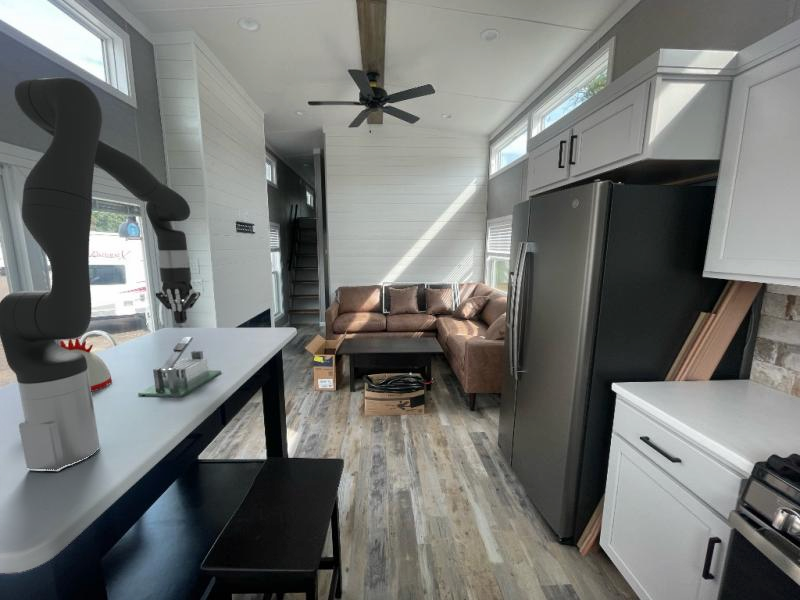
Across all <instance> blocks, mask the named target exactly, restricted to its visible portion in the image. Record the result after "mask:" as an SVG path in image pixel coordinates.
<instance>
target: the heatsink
mask: <svg viewBox="0 0 800 600" xmlns="http://www.w3.org/2000/svg"><path fill="white" fill-rule="evenodd" d="M203 352H204V351H203V350H193V351H191V352H190V354H191V358H190V357H188V358H186V357H185V358H182V359H178V361H177V362H176V363H175V365H174V366H173V368H170V369H168V370H167V371H168V373H159V370H160V369H161V368H162V367H156V368H153V370H152V372H153V381H154V384H153V385H152V386H150V387H148V388H146V389H143V390H142V391H140V392H137V393H138V395H137V396H138V397H143V396H142V395H145V396H144V397H165V396H176V397H175V398H183V397H186V395H188V394H190V393H191V392H193V391H195V390H196V389H197V388H200V387H201V386H202V385H204V384H206V383H207V382H209V381H211V380H212V379H214V378H216V377H217V376H218V375H220V374H222V370H214V369H213V370H210V369H209V365H208V358H204V353H203Z"/></svg>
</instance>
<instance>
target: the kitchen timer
mask: <svg viewBox="0 0 800 600" xmlns="http://www.w3.org/2000/svg"><path fill="white" fill-rule="evenodd" d="M59 341H60V342H59V343H60V346H61V347H63V348H65V349H68V350H70V351H74V352H78V353H81V354H83V355H84V356H85V358H86V361H87V367H88V373H89V379H90V386H91V391H92V392H94V391H93V390H95V391H97V390H96V389H98V390H100V389H99V388H101V387H103V388H105V387H107V386H108V385H107V384H109V383H110V382H111V381H112V375H111V372H110V370H109V368H108V366H107V365H106V363H105V362H104V360H103V359H102V358H101V357H100V356H99V355H97V354H96V353H94V352H92V351H91V350H92V348H93V346H94V345H93V343H92V344H91V345H89V346H88V348H86V343H87V342H86V341H83V342H82V344H81V343H80V340H79V337H77V338H75V340H74V343H73V340H72V339H68V346H67V345H66V343H65V341H64V340H59ZM111 383H112V382H111ZM111 383H110V384H111ZM110 384H109V385H110ZM106 385H107V386H106ZM104 386H105V387H104ZM101 389H102V388H101Z"/></svg>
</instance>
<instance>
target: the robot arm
mask: <svg viewBox="0 0 800 600" xmlns="http://www.w3.org/2000/svg"><path fill="white" fill-rule="evenodd" d="M14 98H15V100H16V103H17V106H18V107H19V108H20V110H21V111H22V112H23V114H24V115H25V116H26V117H27V118H28V119H29V120H30V121H31V122H33V124H35V125H36V126H37V127H39V128H40V129H41V130H43V131H45V132H46V133H47V134H49V135H51V136H52V140H51V142H50V144H49V146H48V148H47V149H46V151H45V152H44V153H43V154H42V156H41V157H40V158H39V160H38V161H37V162H36V163H35V165H34V166H33V168H32V169H31V170H30V171H29V173H28V175H27V176H26V179H25V181H24V185H23V190H22V202H21V204H22V205H21V218H22V221H23V223H24V226H25V227H26V229H27V231H28V232H29V233H30V235H31V236H32V238H33V239H34V240H35V242H36V243H37V245H39V247H40V248H41V249H42V251H43V253H44V254H45V255H46V257H47V260H48V261H49V264H50V269H51V289H49V290H48V289H47V290H24V291H20V290H19V291H15V292H11V293H9V294H7V295H5V296H4V297H3V298H2V299H1V301H0V343H1V345H2V349H3V351H4V355H5V359H6V363H7V365H8V367H9V368H10V369H11V371H13V373H14V374H15V378H16V380H17V384H18V385H17V386H18V389H19V396H20V402H21V407H22V411H23V417H24V421H21V422H20V423H19V424H18V428H19V434H20V439H21V443H22V449H23V454H24V459H25V464H26V469H27V468H29V469H46V470H47V469H48V470H49V469H50V470H51V469H52V470H53V469H54V470H57V469H59V468H61V467H63V466H65V465H68V464H72V463H74V462H77V461H79V460H82V459H84V458H86V457H88V456H90V455H91V454H93V453H94V452H95V451H97V449H98V448H99V446H100V439H99V432H98V425H97V420H96V413H95V406H94V400H93V393H92V392H91V386H90V379H89V373H88V367H87V361H86V358H85V356H84V355H83V354H81V353H78V352H74V351H70V350H68V349H65V348H63V347H61V345H59V344H58V343H57V341H56V340H59V341H62V340H70V339H71V340H72V339H77V338H79V337H81V336H82V335H83V334H85V333H86V332H87V330H88V328H89V326H90V323H91V319H92V293H91V281H90V278H91V277H90V261H89V260H90V259H89V258H90V237H91V225H92V224H91V223H92V211H93V183H94V173H95V165H96V166H97V167H99V169H101V170H103V171H104V172H106V173H107V174H108V175H110V176H111V177H112V178H113V179H114V180H116V181H117V182H118V183H119V184H120V185H122V187H124V188H125V189H126V190H127V191H128V192H130V194H132V195H133V196H134V197H135V198H136V199H138V200H140V201H142V202H146V203H145V209H146V211H145V212H146V215H147V217H148V220H149V221H150V224H151V226H152V229H153V231H154V233H155V236H156V239H157V240H156V241H157V249H158V266H159V267H158V268H159V275H160V282H161V283H162V286H161V291H159V292H155V294H154V295H155V297H156V298H157V299H158V300H159V302H161V304H162V305H163V306H164V308H166V309H167V310H171V311H173V317H174V318H173V319H174V322H176V324H184V323H186V322H187V319H188V318H187V310H189V309H192V308H193V307H194V305H195V304H196V302H197V300H199V298H200V296H201V293H200V291H195V290H194V289H193V288H194V287H193V285H192V284H191V282H192V273H191V266H190V265H191V262H190V256H189V254H188V253H189V252H188V244H187V236H186V233H185V232H184V231H183V230H180V229H175V228H173V226H172V224H171V222H183V221H186V220H188V219H189V217H190V215H191V208H190V205H189V204H188V201H187V200H186V199H185V198H184V197H183V196H182V195H180V194H179V193H178V192H177V191H175V190H173V189H172V188H170V187H169V186H167V185H166V184H164V183H162V182H160V181H159V180H158V179H157V178H156V176H155V175H153V173H152V172H150V170H148V169H147V167H145V165H143V164H142V163H141V162H140V161H138V160H137V159H135V158H134V157H132V156H131V155H129V154H127V153H125V152H123V151H121V150H119V149H117V147H114V146H112V145H110V143H109V144H108V143H107V142H105V141H103V140H102V139H100V136H101V131H102V126H103V123H102V122H103V113H102V108H101V105H100V101H99V99H98V98H97V96H96V94H95V92H94V91H93V90H92V89H91V88H90V87H89V86H88V84H86V83H85V82H83V81H81V80H79V79H75V78H72V77H64V76H63V77H61V76H60V77H59V76H58V77H56V76H55V77H47V78H35V79H27V80H22V81H20V82H18V84H17V85H16V86H15V87H14ZM100 447H101V446H100ZM99 449H100V448H99ZM97 452H98V451H97Z"/></svg>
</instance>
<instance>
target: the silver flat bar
mask: <svg viewBox="0 0 800 600" xmlns="http://www.w3.org/2000/svg"><path fill="white" fill-rule="evenodd" d="M193 339H194V338H193V337H192V336H183V338H182V340H181V341H180V342H178V343H177V344H176V345H175V346H174V347H173V349H172V350H173V351H172V353H171V354H170V356H169V357H168V359H167V360H166V361H165V363H164V364H163V365H162V367H160V368H161V369H160V370H159V373H168V371H167V370H168V369H170V368H173V366H174V365H175V363H176V362H177V361H179V360H180V358H181V356H182V355H183V353H184V352H185V351H186V349H188V348H187V347H189V345H190V343H192V340H193Z"/></svg>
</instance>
